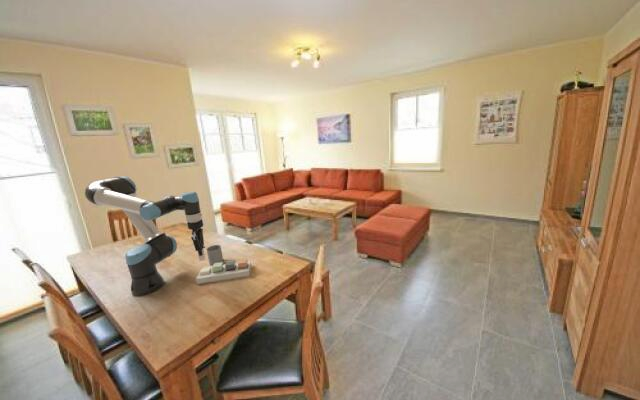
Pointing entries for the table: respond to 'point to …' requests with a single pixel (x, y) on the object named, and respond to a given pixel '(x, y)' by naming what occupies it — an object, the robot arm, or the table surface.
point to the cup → (214, 254)
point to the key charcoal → (230, 265)
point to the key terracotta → (242, 263)
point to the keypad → (224, 274)
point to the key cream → (205, 271)
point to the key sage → (217, 267)
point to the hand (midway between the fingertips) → (202, 259)
